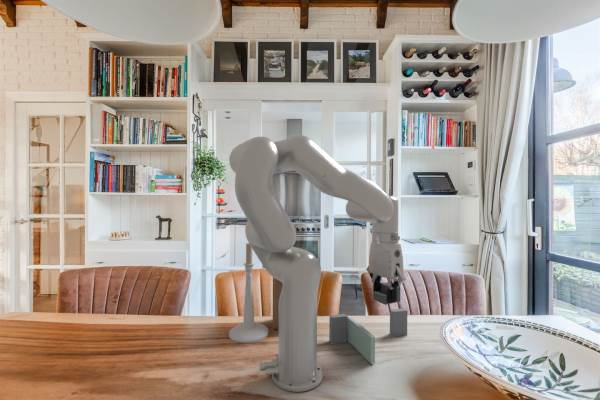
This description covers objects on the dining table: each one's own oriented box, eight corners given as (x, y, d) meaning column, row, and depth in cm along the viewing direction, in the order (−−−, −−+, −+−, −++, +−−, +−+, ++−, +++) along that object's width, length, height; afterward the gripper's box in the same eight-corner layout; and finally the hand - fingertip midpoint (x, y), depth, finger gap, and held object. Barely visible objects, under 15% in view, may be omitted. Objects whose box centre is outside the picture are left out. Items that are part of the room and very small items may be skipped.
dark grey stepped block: (387, 296, 93) (387, 282, 93) (400, 301, 89) (400, 286, 89) (373, 299, 90) (373, 284, 90) (385, 304, 86) (385, 289, 86)
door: (345, 338, 94) (345, 316, 94) (349, 337, 95) (349, 315, 95) (370, 363, 80) (370, 337, 80) (375, 362, 80) (375, 336, 80)
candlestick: (261, 344, 91) (262, 245, 91) (222, 340, 93) (222, 244, 93) (272, 326, 104) (273, 239, 104) (237, 323, 106) (238, 238, 106)
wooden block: (302, 330, 101) (302, 271, 101) (272, 330, 101) (272, 270, 101) (302, 319, 111) (302, 264, 111) (275, 318, 111) (275, 264, 111)
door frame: (331, 343, 92) (331, 317, 92) (329, 340, 94) (329, 315, 94) (407, 335, 98) (407, 310, 98) (403, 332, 100) (403, 308, 100)
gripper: (417, 240, 84) (416, 306, 84) (374, 234, 99) (374, 289, 99) (397, 242, 80) (397, 310, 80) (356, 235, 95) (356, 293, 95)
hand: (384, 298), depth 89 cm, fingers closed on dark grey stepped block, 5 cm apart
